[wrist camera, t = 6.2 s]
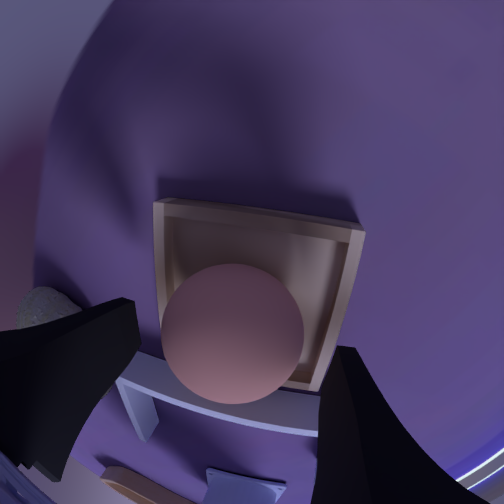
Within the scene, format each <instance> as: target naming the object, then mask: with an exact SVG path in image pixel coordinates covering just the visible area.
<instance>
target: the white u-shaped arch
mask: <svg viewBox="0 0 504 504" xmlns="http://www.w3.org/2000/svg"><path fill="white" fill-rule="evenodd" d="M115 382H116V385H117V387H118V390H119V393H120V395H121V398H122V400H123V403H124V405H125V408H126V410H127V412H128V415H129V417H130V419H131V422H132V424H133V426H134V428H135V430H136V432H137V435H138V437H139V439H140V440H142V441H144V442H146V443H147V441H148V439H149V438H150V436H151V434H152V433H153V431H154V429H155V428H156V426H157V425H158V423H159V419H158V415H157V412H156V409H155V405H154V402H153V398H152V396H153V397H155V398H158V399H161V400H163V401H166V402H169V403H171V404H174V405H177V406H180V407H183V408H186V409H189V410H192V411H195V412H198V413H202V414H205V415H208V416H212V417H215V418H219V419H223V420H226V421H230V422H234V423H238V424H243V425H247V426H252V427H256V428H261V429H267V430H272V431H278V432H284V433H290V434H297V435H305V436H313V437H318V412H319V404H320V396H316V395H308V394H301V393H295V392H289V391H283V390H276V391H274V392H272V393H271V394H269V395H267V396H266V397H263V398H261V399H258V400H255V401H252V402H248V403H242V404H224V403H218V402H214V401H211V400H208V399H205V398H203V397H201V396H199V395H197V394H195V393H194V392H192V391H191V390H189V389H188V388H187V387H186V386H184V385H183V384H182V383H181V382H180V381H179V379H178V378H177V377H176V376H175V374H174V373H173V372H172V370H171V369H170V367H169V365H168V363H167V361H165V360H162V359H159V358H156V357H153V356H151V355H148V354H145V353H142V352H140V351H137V352H136V354H135V356H134V357H133V359H132V360H131V362H130V364H129V365H128V366H127V367H126V369H125V370H124V371H123V372H122V374H121V375H120V376H119V377H118V379H117V380H116V381H115ZM316 470H317V459H316V468H315V476H314V484H313V485H315V479H316Z"/></svg>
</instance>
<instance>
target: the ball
mask: <svg viewBox="0 0 504 504" xmlns="http://www.w3.org/2000/svg"><path fill="white" fill-rule="evenodd" d="M161 343H162V348H163V353H164V355H165V358H166V360H167V363H168V365H169V367H170V369H171V370H172V372H173V373H174V374H175V376H176V377H177V378H178V379H179V381H180V382H181V383H182V384H183V385H184V386H186V387H187V388H188V389H189V390H191V391H192V392H194V393H195V394H197V395H199V396H201V397H203V398H205V399H208V400H211V401H214V402H218V403H224V404H242V403H248V402H252V401H255V400H258V399H261V398H263V397H266V396H267V395H269V394H271V393H272V392H274V391H276V390H277V389H278V388H279V387H280V386H282V385H283V384H284V383H285V382H286V381H287V379H288V378H289V377H290V376H291V374H292V373H293V371H294V370H295V368H296V366H297V364H298V362H299V359H300V357H301V354H302V349H303V344H304V325H303V319H302V316H301V313H300V310H299V307H298V305H297V303H296V301H295V299H294V298H293V296H292V295H291V293H290V292H289V291H288V289H287V288H286V287H285V286H284V285H283V284H282V283H281V282H280V281H279V280H277V279H276V278H275V277H273V276H272V275H270V274H269V273H267V272H265V271H263V270H261V269H258V268H255V267H252V266H248V265H244V264H221V265H215V266H211V267H208V268H205V269H203V270H201V271H199V272H197V273H195V274H193V275H192V276H190V277H189V278H188V279H186V280H185V281H184V282H183V283H182V284H181V285H180V286H179V287H178V288H177V290H176V291H175V292H174V293H173V295H172V296H171V298H170V300H169V302H168V304H167V306H166V308H165V311H164V314H163V318H162V323H161Z"/></svg>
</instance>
